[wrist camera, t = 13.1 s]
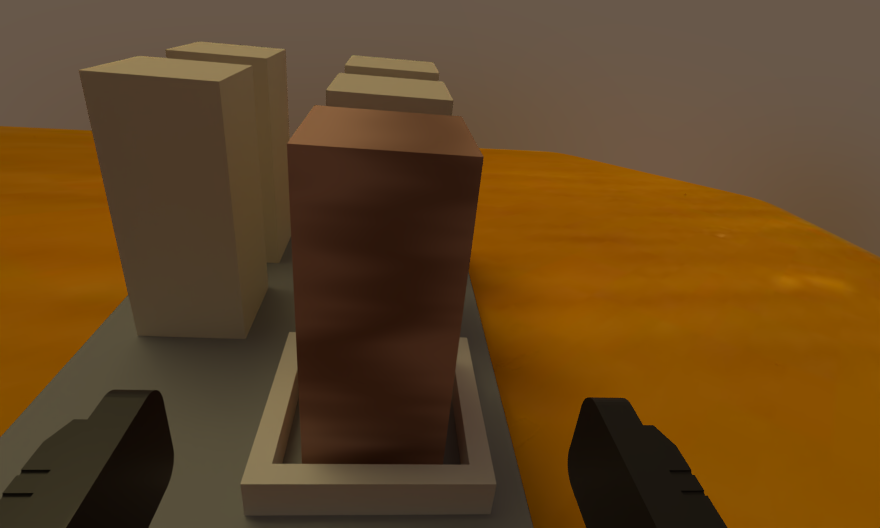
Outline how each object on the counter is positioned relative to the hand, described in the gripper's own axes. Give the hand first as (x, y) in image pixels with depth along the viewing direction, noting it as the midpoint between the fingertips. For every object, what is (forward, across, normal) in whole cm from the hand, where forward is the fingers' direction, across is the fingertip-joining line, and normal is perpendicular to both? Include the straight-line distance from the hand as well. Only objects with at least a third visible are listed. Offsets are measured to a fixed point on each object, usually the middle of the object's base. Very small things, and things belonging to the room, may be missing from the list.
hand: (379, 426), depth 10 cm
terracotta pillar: (+8, 0, +8) cm, 11 cm away
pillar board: (+15, +4, +10) cm, 18 cm away
